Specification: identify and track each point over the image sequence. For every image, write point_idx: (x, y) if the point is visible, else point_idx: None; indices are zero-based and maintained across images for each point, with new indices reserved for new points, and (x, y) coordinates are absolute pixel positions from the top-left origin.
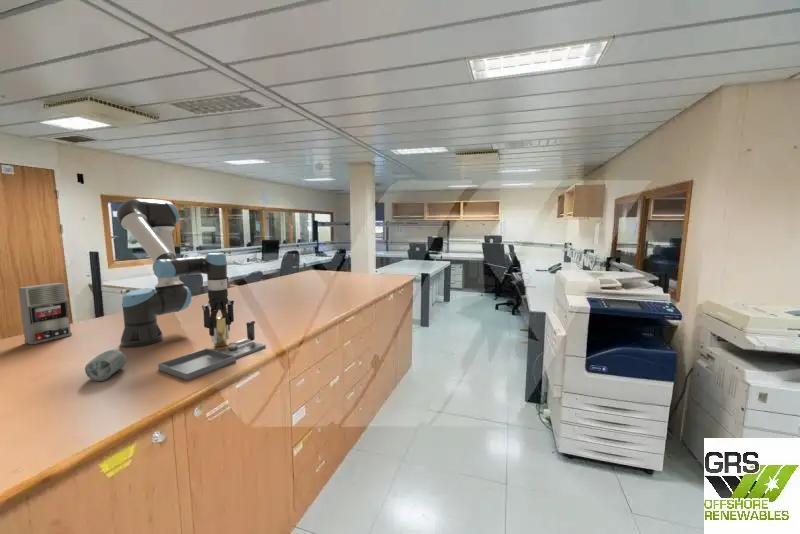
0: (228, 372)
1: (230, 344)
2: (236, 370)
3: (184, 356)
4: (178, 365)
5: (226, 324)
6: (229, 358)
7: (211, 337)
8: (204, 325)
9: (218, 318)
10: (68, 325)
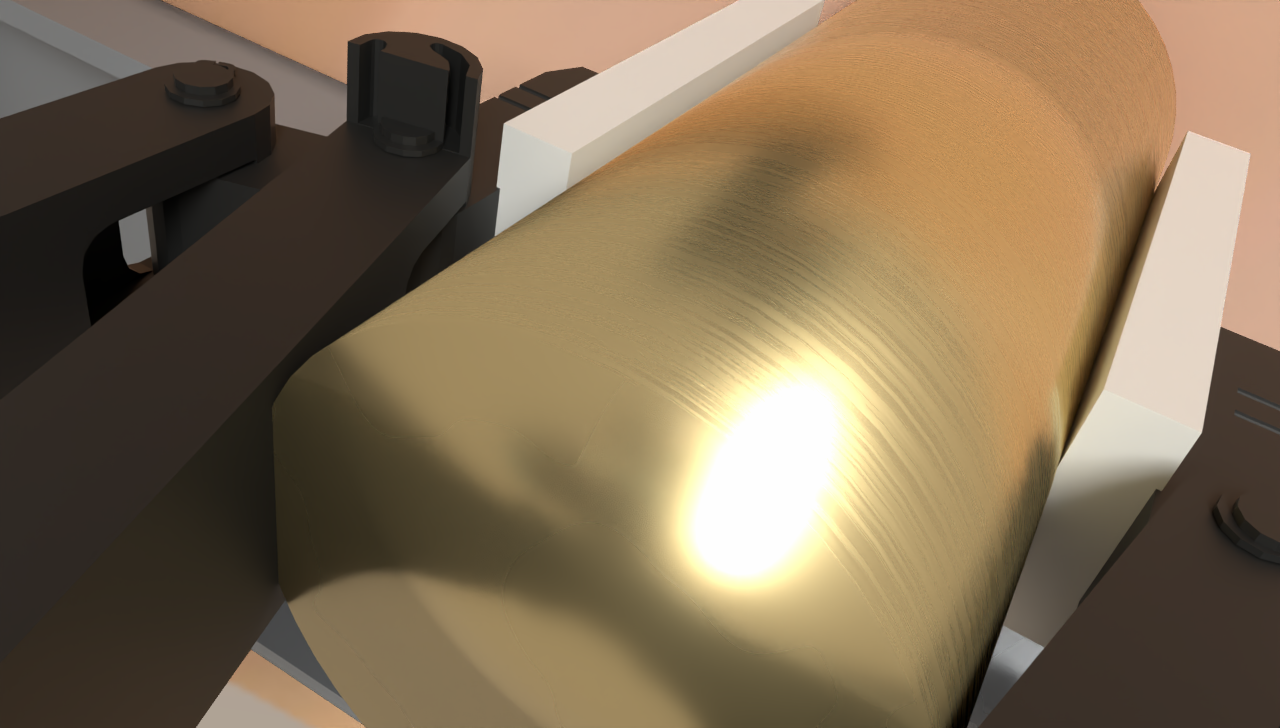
0: (259, 668)
1: None
2: (313, 722)
3: (71, 44)
4: (36, 78)
5: (1098, 570)
6: (313, 686)
7: (705, 32)
8: (113, 112)
9: (444, 667)
10: None
